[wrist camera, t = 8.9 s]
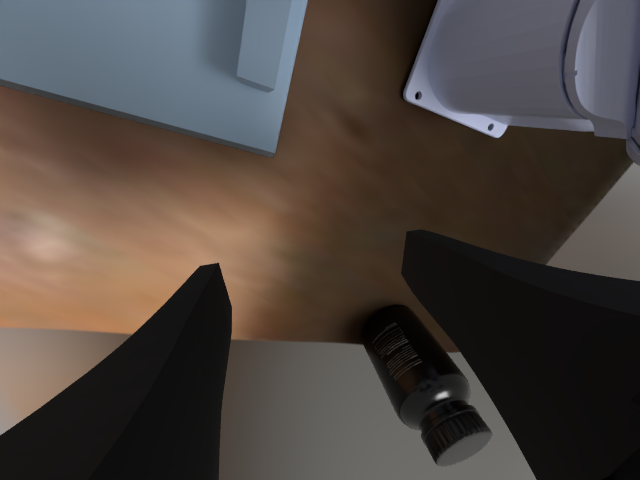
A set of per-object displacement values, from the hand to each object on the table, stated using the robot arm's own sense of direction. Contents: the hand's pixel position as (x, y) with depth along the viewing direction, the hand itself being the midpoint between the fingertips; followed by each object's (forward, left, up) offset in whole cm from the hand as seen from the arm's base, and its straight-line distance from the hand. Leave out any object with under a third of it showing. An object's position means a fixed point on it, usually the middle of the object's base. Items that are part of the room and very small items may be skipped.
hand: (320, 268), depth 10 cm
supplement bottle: (-15, +13, -11) cm, 23 cm away
